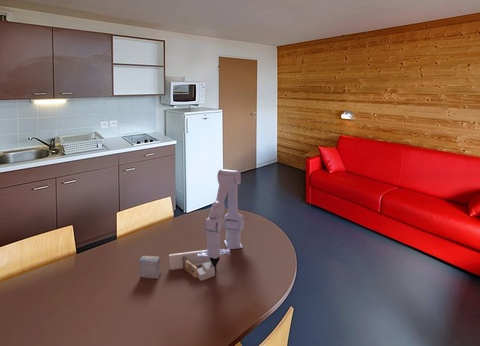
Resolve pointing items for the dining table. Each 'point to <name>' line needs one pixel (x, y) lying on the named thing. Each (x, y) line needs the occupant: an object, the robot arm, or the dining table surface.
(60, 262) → the dining table surface
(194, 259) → the wall shelf
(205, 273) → the pale grey notched block
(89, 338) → the dining table surface
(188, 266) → the door
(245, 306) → the dining table surface
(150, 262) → the medicine box
